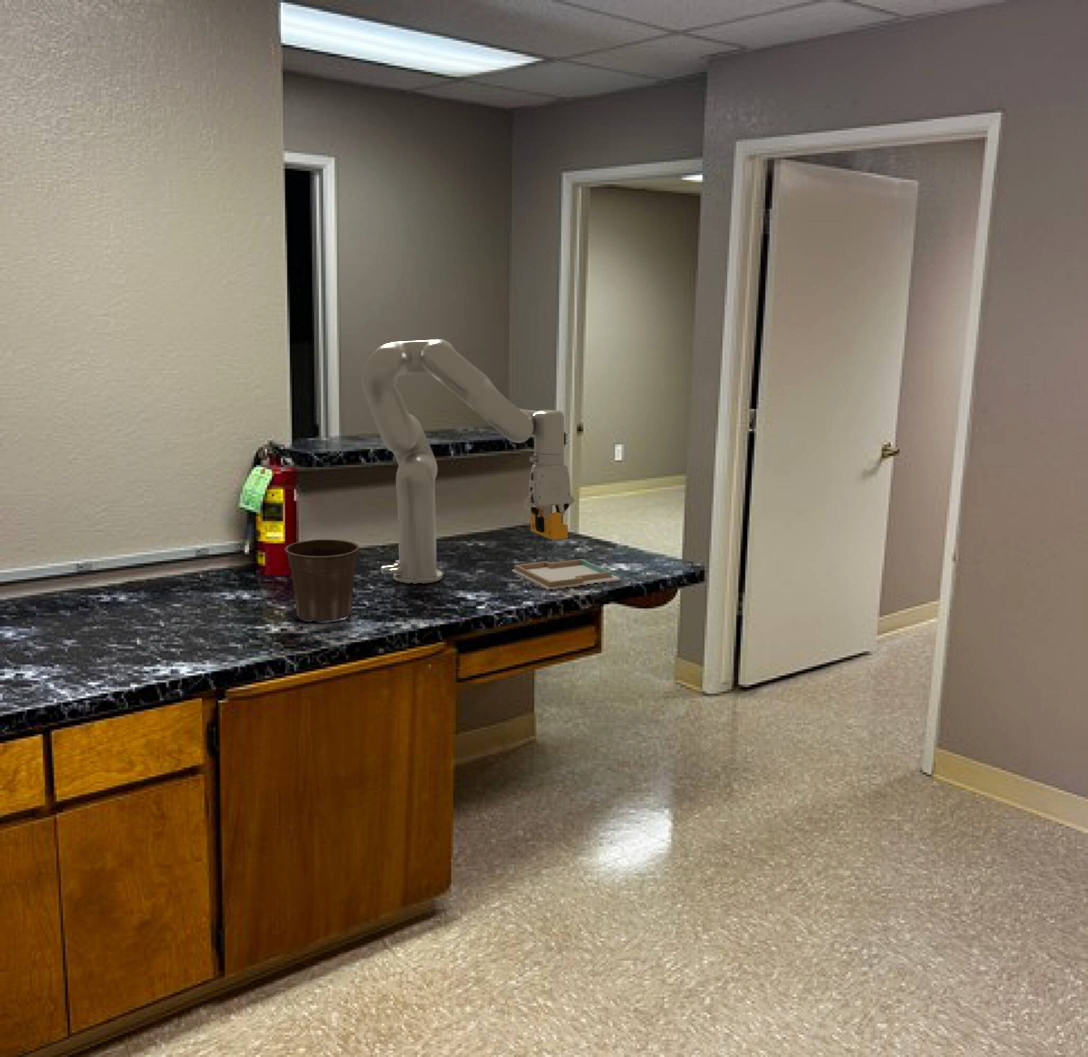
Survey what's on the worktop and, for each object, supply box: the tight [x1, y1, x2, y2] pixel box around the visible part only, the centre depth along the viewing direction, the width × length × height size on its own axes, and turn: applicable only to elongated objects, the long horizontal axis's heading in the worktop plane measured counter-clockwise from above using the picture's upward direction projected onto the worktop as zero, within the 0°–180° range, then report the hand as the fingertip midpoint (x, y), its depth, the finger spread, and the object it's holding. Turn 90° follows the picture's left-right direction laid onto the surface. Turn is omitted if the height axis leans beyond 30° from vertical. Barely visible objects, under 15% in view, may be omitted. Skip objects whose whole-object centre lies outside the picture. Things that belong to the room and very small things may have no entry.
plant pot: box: [284, 538, 360, 622], centre depth 242 cm, size 16×16×16 cm
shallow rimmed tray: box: [511, 558, 621, 591], centre depth 280 cm, size 21×20×2 cm
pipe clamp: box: [530, 505, 569, 541], centre depth 274 cm, size 12×4×6 cm, turn 28°
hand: (549, 529), depth 275 cm, fingers closed on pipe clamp, 4 cm apart
